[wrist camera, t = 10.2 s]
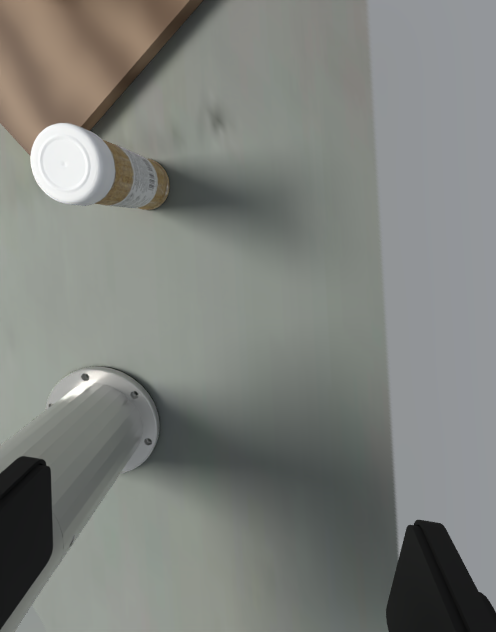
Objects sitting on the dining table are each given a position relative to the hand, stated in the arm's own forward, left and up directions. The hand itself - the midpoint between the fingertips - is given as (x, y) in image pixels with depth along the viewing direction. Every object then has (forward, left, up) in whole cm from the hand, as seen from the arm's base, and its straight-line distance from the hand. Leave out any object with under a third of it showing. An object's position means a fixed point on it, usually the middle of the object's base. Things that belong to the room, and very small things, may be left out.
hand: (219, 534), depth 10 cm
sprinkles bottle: (-1, +16, -28) cm, 32 cm away
